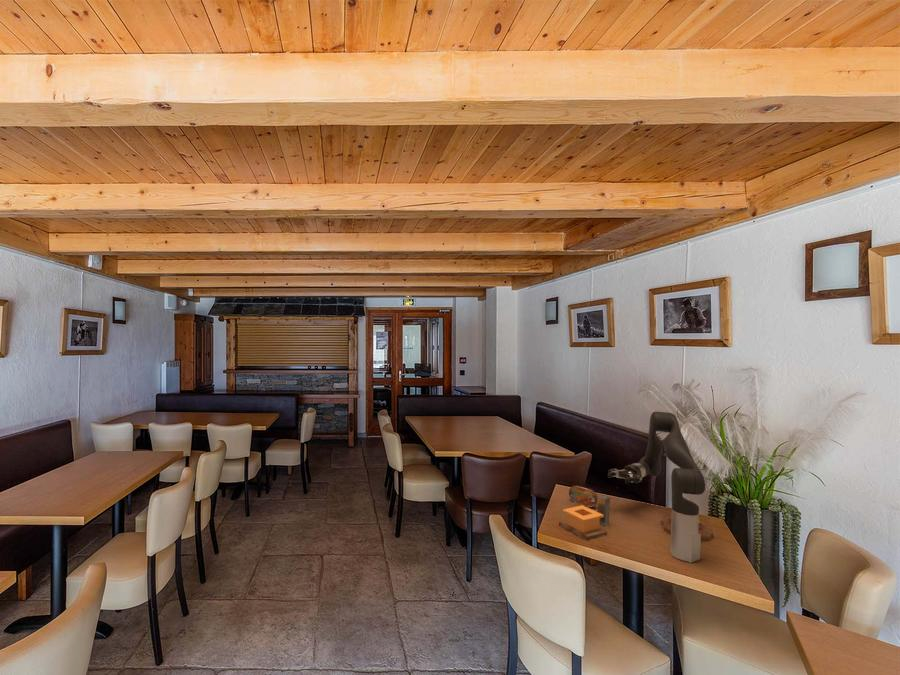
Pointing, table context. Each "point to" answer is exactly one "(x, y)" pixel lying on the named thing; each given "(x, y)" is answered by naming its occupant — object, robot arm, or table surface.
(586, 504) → the tin
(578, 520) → the orange square collar
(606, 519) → the dark grey rectangular block
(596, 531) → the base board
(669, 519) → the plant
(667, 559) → the table surface
